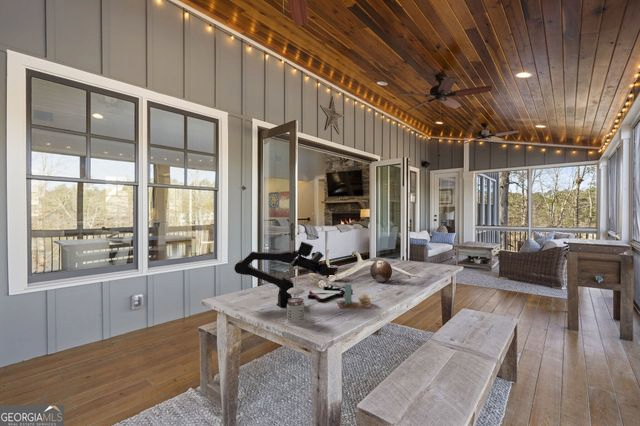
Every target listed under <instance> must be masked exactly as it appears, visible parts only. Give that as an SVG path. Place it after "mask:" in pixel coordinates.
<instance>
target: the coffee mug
mask: <svg viewBox="0 0 640 426" xmlns="http://www.w3.org/2000/svg"><path fill="white" fill-rule="evenodd" d="M327 265H328V266H329V264H327ZM328 269H330V270H331V271H332V272H334V273H335V274H338V270H339V267H338V265H334V264H332V265H330V267H328ZM328 277H329V276H326V279H327V278H328Z"/></svg>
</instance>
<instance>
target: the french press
mask: <svg viewBox="0 0 640 426" xmlns="http://www.w3.org/2000/svg"><path fill="white" fill-rule="evenodd" d="M298 269H299V267H298V266H294V268H293V270H295V271H294V273H295V276H294V277H295V279H294V281H295V283H294V284H295V286H294V288H290V289H289V290H287V293H289V294H291V295H293V297H292V298H290V299H288V303H287V307H286V319H285V320H284V324H286V325H289V326H301V325H304V324H306V323H307V319H306V318H305V302H304V299H303V298H301V297H297V296H299V295H301V294H305V292H306V291H305V290H304V289H303V288H301V287H297V270H298Z"/></svg>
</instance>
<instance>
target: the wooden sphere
mask: <svg viewBox="0 0 640 426" xmlns="http://www.w3.org/2000/svg"><path fill="white" fill-rule="evenodd" d="M369 270H370V271H369V273H370V276H371V277H372V279H373V280H374V281H376V282H379V283H385V282H387V281H388V280H390V279H391V276H393V275H392V274H393V268H392V266H391V264H390V263H389V262H388V261H386V260H383V259H379V260H378V259H377V260H376V261H374V262H372V264H371V265H370V268H369Z"/></svg>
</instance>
